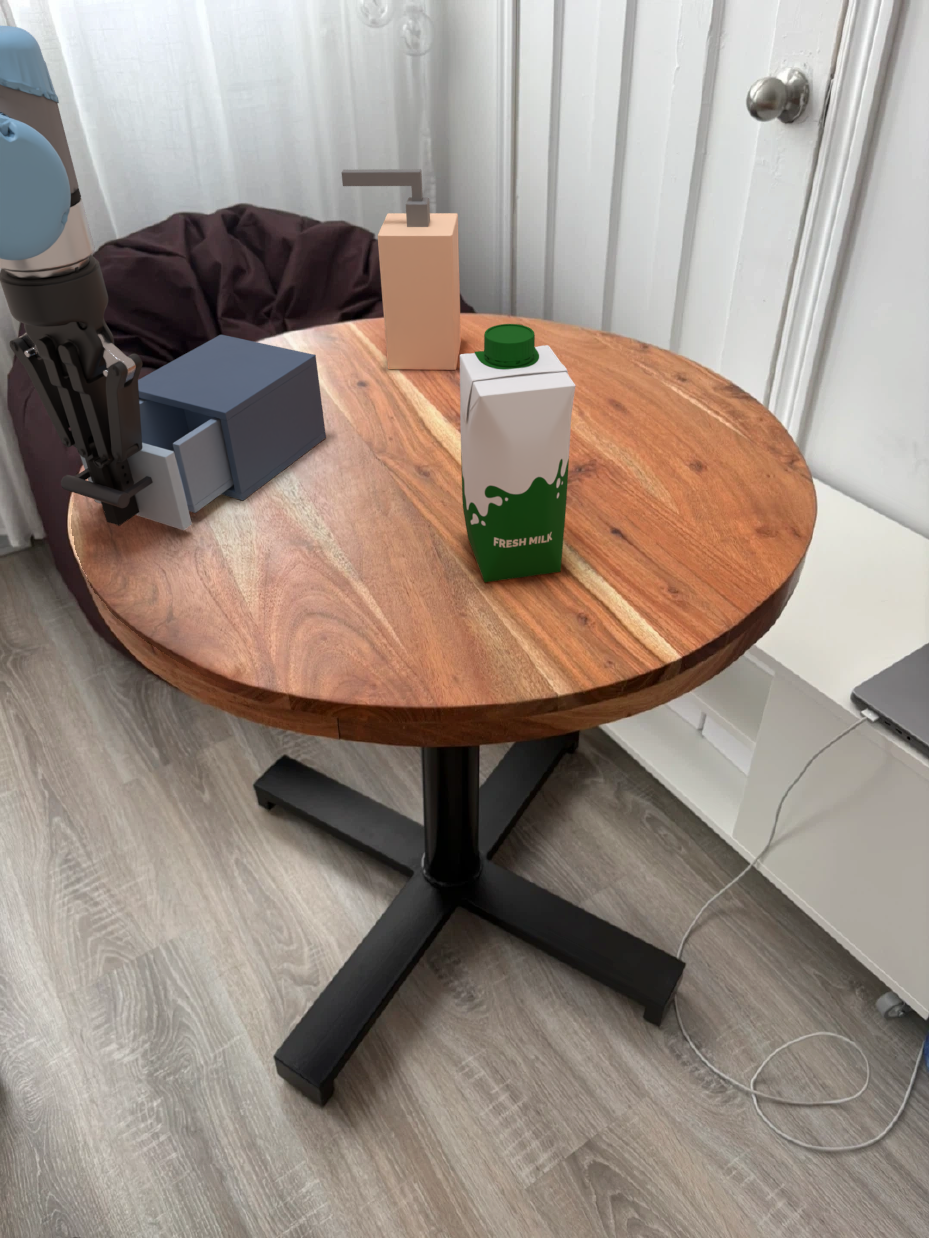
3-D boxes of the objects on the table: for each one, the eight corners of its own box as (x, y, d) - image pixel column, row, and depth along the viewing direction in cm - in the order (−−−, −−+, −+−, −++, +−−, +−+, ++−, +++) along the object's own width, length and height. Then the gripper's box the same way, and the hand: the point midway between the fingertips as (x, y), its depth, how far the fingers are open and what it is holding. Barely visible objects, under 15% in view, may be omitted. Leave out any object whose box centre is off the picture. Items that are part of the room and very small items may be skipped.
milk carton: (546, 522, 88) (554, 316, 75) (573, 578, 81) (588, 361, 68) (455, 534, 87) (449, 327, 74) (476, 591, 80) (473, 374, 67)
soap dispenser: (461, 342, 121) (456, 160, 107) (455, 370, 115) (450, 180, 101) (365, 341, 122) (348, 161, 108) (354, 369, 116) (335, 180, 102)
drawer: (150, 555, 83) (128, 481, 78) (59, 524, 88) (33, 452, 83) (271, 465, 96) (259, 395, 91) (187, 442, 100) (171, 374, 95)
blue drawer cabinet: (242, 501, 92) (225, 412, 86) (147, 472, 97) (124, 387, 91) (326, 437, 102) (315, 354, 96) (236, 414, 107) (220, 334, 100)
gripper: (144, 259, 72) (203, 514, 87) (26, 237, 77) (101, 482, 92) (71, 289, 67) (147, 555, 82) (-50, 264, 72) (43, 519, 87)
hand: (123, 516), depth 87 cm, fingers closed
